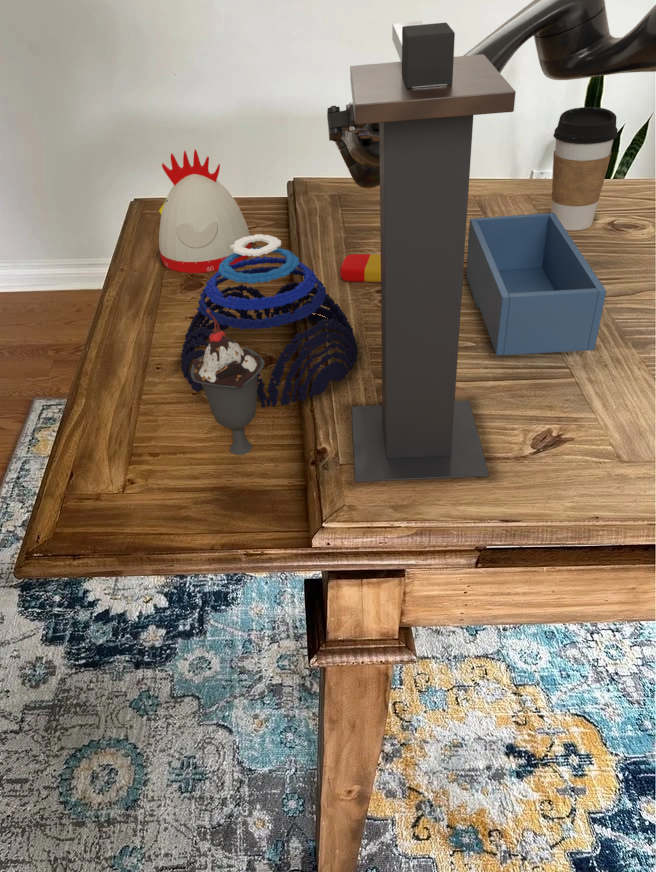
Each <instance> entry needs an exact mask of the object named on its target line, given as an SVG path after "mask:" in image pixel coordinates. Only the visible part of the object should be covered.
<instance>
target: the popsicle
mask: <svg viewBox="0 0 656 872" xmlns="http://www.w3.org/2000/svg"><path fill="white" fill-rule="evenodd" d="M339 272H340V278H341V280H343V281H344V282H351V283H352V282H353V283H355V282H356V283H357V282H359V283H381V254H372V253H371V254H369V253H368V254H367V253H362V254H360V253H354V254H353V253H351V254H348V255H347V256H345V257H344V259H343V261H342V264H341V266H340V271H339Z"/></svg>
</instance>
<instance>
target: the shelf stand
mask: <svg viewBox="0 0 656 872" xmlns="http://www.w3.org/2000/svg"><path fill="white" fill-rule="evenodd" d="M349 73H350V75H349V77H350V91H351V97H352V98H351V99H352V102H353V108H354V117H355V124H356V125H358V124H371V123H379V145H380V185H379V225H380V226H379V227H380V235H379V236H380V238H379V239H380V243H379V244H380V255H381V282H380V328H381V329H380V331H381V332H380V334H381V335H380V336H381V338H380V339H381V404H376V405H358V406H356V405H355V406H354V405H353V406H351V407H350V409H351V430H352V431H351V433H352V452H353V453H352V454H353V471H354V472H353V473H354V475H353V477H354V482H355V483H373V482H392V481H394V482H396V481H397V482H399V481H415V480H416V481H418V480H419V481H420V480H421V481H422V480H442V479H444V480H445V479H464V478H466V479H467V478H468V479H469V478H489V477H490V472H489V468H488V464H487V460H486V457H485V453H484V450H483V446H482V443H481V438H480V434H479V431H478V427H477V423H476V420H475V416H474V412H473V409H472V405H471V401H470V400H456V389H457V388H456V387H457V373H458V359H459V357H458V356H459V355H458V354H459V342H460V326H461V325H460V324H461V314H462V313H461V312H462V311H461V310H462V299H463V298H462V297H463V296H462V295H463V284H464V283H463V282H464V281H463V279H464V268H465V266H464V265H465V251H466V250H465V249H466V238H467V237H466V236H467V235H466V234H467V220H468V219H467V218H468V207H469V206H468V205H469V191H470V189H469V188H470V176H471V175H470V173H471V159H472V146H473V145H472V143H473V130H474V129H473V128H474V116H478V115H479V116H480V115H490V114H491V115H492V114H503V113H504V114H505V113H514V111H515V102H516V90H515V89H514V87H512V86H511V84H510V83H509V82H508V81H507V80H506V78H505V77H504V76H503V75H502V74H501V73H499V72H498V71H497V69H496V68H495V67H494V66H493V65H492V64H491V62H490V61H489V60H488V59H487V58H486V56H485V55H484V54H481V55H470V56H463V55H459V56H454V61H453V82H452V85H445V86H434V87H422V88H409V89H408V88H407V87H406V85H405V82H404V79H403V77H402V63H401V61H393V62H379V63H369V64H368V63H367V64H359V65H356V64H355V65H350V66H349Z"/></svg>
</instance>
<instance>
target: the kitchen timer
mask: <svg viewBox="0 0 656 872" xmlns="http://www.w3.org/2000/svg"><path fill="white" fill-rule="evenodd" d="M209 163H210V157H209V156H206V158H205V161H204V163H203V165H202V164H201V161H200V157H199V153H198V151H197V149H196V148H195V149H194V151H193V164H192V165H191V163H190V160H189V157H188V154H187V151H186V150H183V159H182V167H181V166H180V165H179V163H178V161H177V159H176V157H175V155H174V154H173V152H171V153H170V164H171V169H170V168H169V167H168V166H167V165H166V164H165V163H164V162H162V164H161V167H162V169H163V171H164V173H165V175H166V176H167V177H168V179H169V181H170V182H171V183H172V184H173V186H172V187H171V189H170V190H169V192H168V194H167V196H166V198H165V201H164V202H163V204H162V206H160V208H159V209H158V212H159V214H160V221H159V222H160V223H159V232H158V248H159V255H160V259H161V262H162V264H163V266H164V267H166V268H167V269H169V270H171V271H175V272H179V273H188V274H202V273H204V274H205V273H210V272H218V271H219V265H220V263H222V261H224V259H225V258H227V257H228V256H229V255H231V254H233V253H234V252H233V250H234V249H231V248H230V246H231V245H233V244H234V243H235V241H236V240H239V239H241V238H243V237H245V236H246V237H248V236H251V233H250V229H249V225H247V221H246V219H245V217H244V214H243V212H242V210H241V208H240V206H239V204H238V202H237V201H236V199H235V198H234V197H233V195H232V194H231V193H230V191H229V190H228V189H227V188H226V187H225V186H224V185H223V184H222V183H221V182H219V180H218V177H219V173H220V168H221V163H218V165H217V167H216V168H215V171H214V172H212V173H211V172H210V171H209V170H210V169H209V166H210V165H209ZM244 248H247V249H250V248H253V247H252V242H249V243H247V244H245V246H244ZM248 257H249V256H247V255H245V256H241V257H238V258H237V259H234V261H233V262H231V263H230V264H231V265H233V264H235V263H238V262H240V261H242V260H244V261H245V260H247V259H248ZM230 264H229V265H230Z"/></svg>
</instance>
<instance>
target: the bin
mask: <svg viewBox="0 0 656 872" xmlns="http://www.w3.org/2000/svg"><path fill="white" fill-rule="evenodd" d="M467 239H468V240H467V253H466V254H467V256H466V268H465V269H466V271H465V277H466V280H467V283H468V285H469V289H470V291H471V294H472V298H473V300H474V304H475V306H476V308H477V309H479V310H480V313H481V316H482V319H483V323H484V324H485V327H486V330H487V334H488V335H489V339H490V341H491V345H492V347H493V350H494V353H495V356H514V355H515V356H516V355H530V354H534V355H535V354H551V353H567V352H583V351H584V352H586V351H595V350H596V344H597V339H598V335H599V330H600V326H601V319H602V315H603V310H604V305H605V300H606V295H607V290H606V288H605V287H604V285H603V284H602V282H601V281H600V280H599V278H598V276H597V274H596V272H594V270H593V269H592V267H591V265H590V264H589V262H588V261H587V259H586V258H585V257H584V255H583V254H582V252H581V251H580V249H579V247H578V246H577V244H576V243H575V242H574V240H573V239H572V237H571V236H570V233H568V230H565V228H564V227H563V225H562V224H561V222H560V221H559V219H558V218H557V216H556V215H555V213H551V212H543V213H541V212H540V213H531V214H530V213H529V214H528V213H527V214H514V215H513V214H512V215H500V216H499V215H498V216H485V217H474V218H473V217H472V218H469V223H468V238H467Z"/></svg>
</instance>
